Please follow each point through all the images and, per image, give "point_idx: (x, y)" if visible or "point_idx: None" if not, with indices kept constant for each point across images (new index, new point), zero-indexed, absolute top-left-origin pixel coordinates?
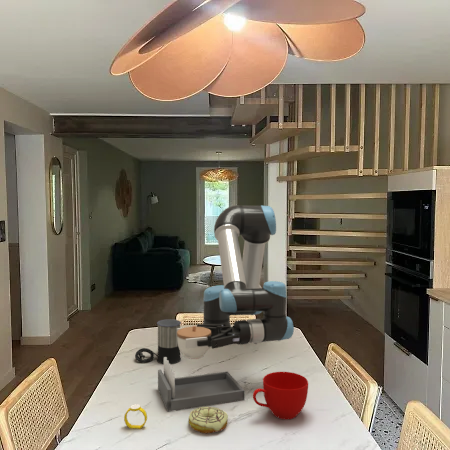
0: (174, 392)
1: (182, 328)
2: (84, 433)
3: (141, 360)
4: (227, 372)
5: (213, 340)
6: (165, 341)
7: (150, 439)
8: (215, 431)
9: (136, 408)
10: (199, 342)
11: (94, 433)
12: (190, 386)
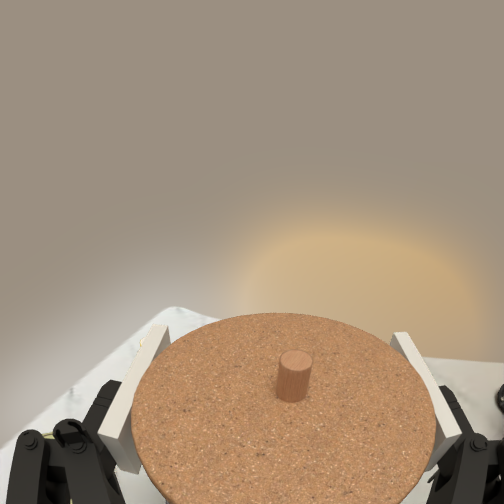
0: None
1: (378, 342)
2: (186, 321)
3: (499, 397)
4: None
5: (23, 434)
6: None
7: (102, 381)
8: None
9: (141, 341)
10: (104, 389)
11: (178, 330)
12: None
